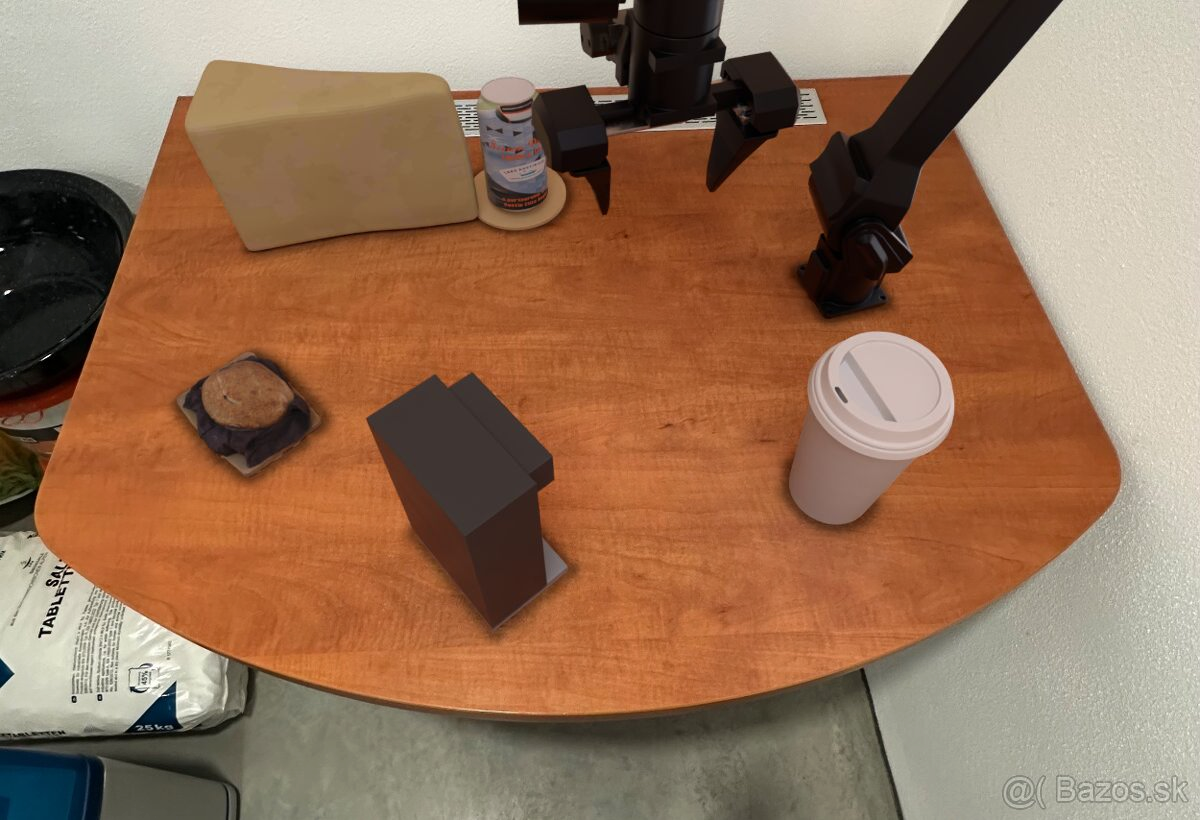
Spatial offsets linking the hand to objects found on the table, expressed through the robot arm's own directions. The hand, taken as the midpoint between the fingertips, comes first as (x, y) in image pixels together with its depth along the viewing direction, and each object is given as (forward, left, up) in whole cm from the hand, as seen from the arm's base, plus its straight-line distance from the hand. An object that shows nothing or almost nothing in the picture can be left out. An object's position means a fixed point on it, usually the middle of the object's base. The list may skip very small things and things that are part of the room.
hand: (657, 199), depth 64 cm
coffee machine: (+20, +20, -12) cm, 31 cm away
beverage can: (+8, -16, -12) cm, 22 cm away
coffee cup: (-7, +23, -12) cm, 27 cm away
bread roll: (+36, +2, -12) cm, 38 cm away
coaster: (+8, -17, -12) cm, 22 cm away
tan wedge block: (+23, -18, -12) cm, 32 cm away
